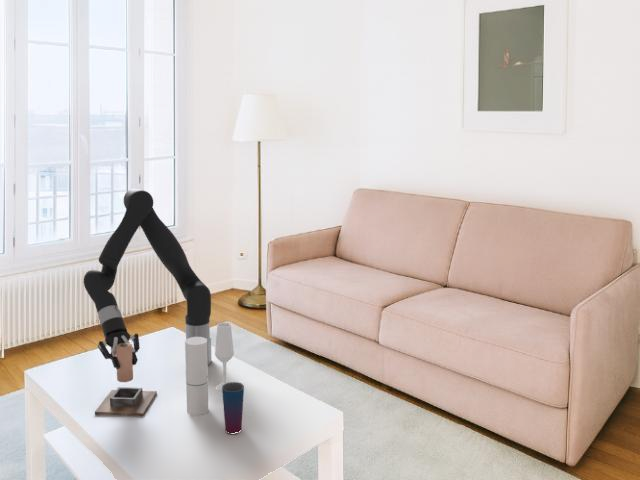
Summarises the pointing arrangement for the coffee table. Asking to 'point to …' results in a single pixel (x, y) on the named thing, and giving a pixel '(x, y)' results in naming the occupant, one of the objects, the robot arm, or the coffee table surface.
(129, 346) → the roll
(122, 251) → the robot arm
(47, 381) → the coffee table surface
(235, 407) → the cup
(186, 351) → the cylindrical container
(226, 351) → the champagne flute
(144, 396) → the holder
